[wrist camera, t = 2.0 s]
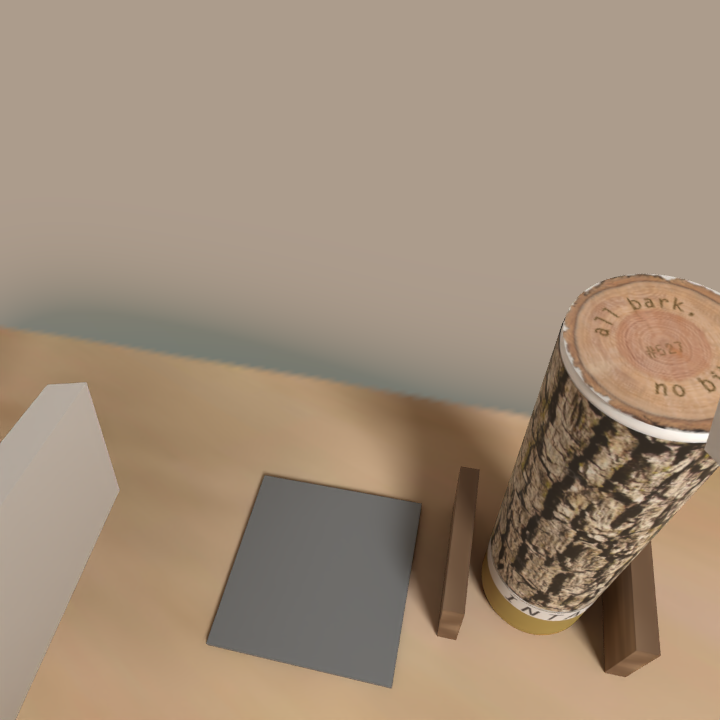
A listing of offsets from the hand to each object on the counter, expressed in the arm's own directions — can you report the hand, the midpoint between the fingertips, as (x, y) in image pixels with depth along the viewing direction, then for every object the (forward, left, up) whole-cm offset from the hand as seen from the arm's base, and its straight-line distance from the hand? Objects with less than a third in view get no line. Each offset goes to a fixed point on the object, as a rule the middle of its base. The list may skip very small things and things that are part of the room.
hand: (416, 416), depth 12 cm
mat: (-7, +5, -30) cm, 31 cm away
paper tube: (+7, +7, -30) cm, 32 cm away
